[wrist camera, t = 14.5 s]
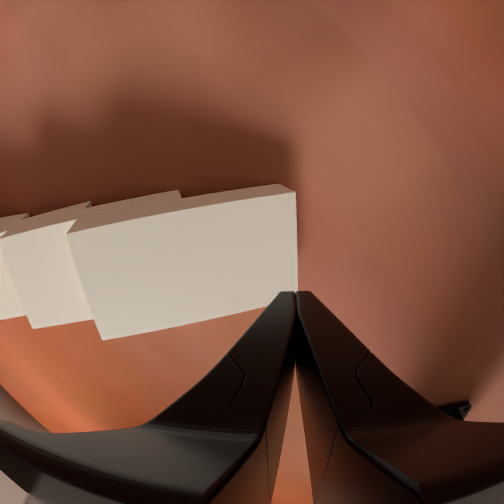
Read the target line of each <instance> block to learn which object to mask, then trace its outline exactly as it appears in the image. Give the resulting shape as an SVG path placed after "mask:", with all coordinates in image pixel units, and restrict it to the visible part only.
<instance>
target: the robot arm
mask: <svg viewBox="0 0 504 504" xmlns="http://www.w3.org/2000/svg"><path fill="white" fill-rule="evenodd" d="M295 366H296V375H297V382H298V389H299V396H300V403H301V410H302V417H303V425H304V432H305V439H306V447H307V455H308V463H309V471H310V479H311V487H312V495H313V504H504V423H500V422H472V421H464V418H465V417H466V415H467V413H468V412H469V410H470V409H471V404H470V402H469V401H466V402H462V403H457V404H453V405H448V406H443V407H438V408H437V407H435V406H434V405H433V404H432V403H430V402H429V401H428V400H426V399H425V398H424V397H423V396H421V395H420V394H419V393H417V392H416V391H415V390H414V389H412V388H411V387H410V386H408V385H407V384H406V383H405V382H404V381H402V380H401V379H400V378H399V377H397V376H396V375H395V374H394V373H393V372H392V371H390V370H389V369H388V368H387V367H386V366H385V365H384V364H383V363H382V362H381V361H380V360H379V359H378V358H377V357H376V356H375V355H374V354H373V353H370V350H369V349H368V348H367V347H366V346H365V345H364V344H363V343H362V342H361V341H360V340H359V339H358V338H357V337H356V336H355V335H354V334H353V333H352V332H351V331H350V330H349V329H348V328H347V327H346V326H345V325H344V324H343V323H342V322H341V321H340V320H339V319H338V318H337V317H336V316H335V315H334V314H333V313H332V312H331V311H330V310H329V309H328V308H327V307H326V306H325V305H324V304H323V303H322V302H321V301H320V300H319V299H318V298H317V297H316V296H315V295H314V294H313V293H312V292H310V291H297V292H296V293H295V292H294V291H281V292H279V293H278V295H277V296H276V297H275V298H274V299H273V301H272V302H271V303H270V304H269V305H268V306H267V308H266V309H265V310H264V311H263V312H262V313H261V315H260V316H259V317H258V318H257V319H256V320H255V322H254V323H253V324H252V325H251V326H250V327H249V329H248V330H247V331H246V332H245V333H244V334H243V335H242V337H241V338H240V339H239V340H238V341H237V342H236V343H235V344H234V346H233V347H232V348H231V349H230V350H229V351H228V352H227V354H226V355H225V356H224V357H223V358H222V359H221V360H220V361H219V362H218V363H217V364H216V365H215V366H214V367H213V369H212V370H211V371H210V372H209V373H208V374H207V375H206V376H204V377H203V378H202V379H201V380H200V381H199V382H198V383H197V384H195V385H194V386H193V387H192V388H191V389H190V390H188V391H187V392H186V393H185V394H183V395H182V396H181V397H180V398H179V399H177V400H176V401H175V402H174V403H172V404H171V405H170V406H169V407H167V408H166V409H165V410H164V411H162V412H161V413H160V414H158V415H157V416H156V417H154V418H153V419H152V420H150V421H148V422H146V423H144V424H142V425H140V426H137V427H133V428H127V429H117V430H107V431H94V432H78V433H45V432H37V431H33V430H29V429H26V428H24V427H21V426H19V425H17V424H15V423H13V422H10V421H7V420H0V470H1V471H2V472H3V473H5V474H6V475H7V476H8V477H9V478H10V479H11V480H13V481H14V482H15V483H16V484H17V485H18V486H20V487H21V488H22V489H23V490H24V491H26V492H27V495H26V498H25V500H24V502H23V504H271V500H272V496H273V491H274V486H275V481H276V476H277V471H278V466H279V461H280V455H281V450H282V444H283V439H284V433H285V428H286V422H287V416H288V410H289V403H290V397H291V391H292V384H293V378H294V370H295Z"/></svg>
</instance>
